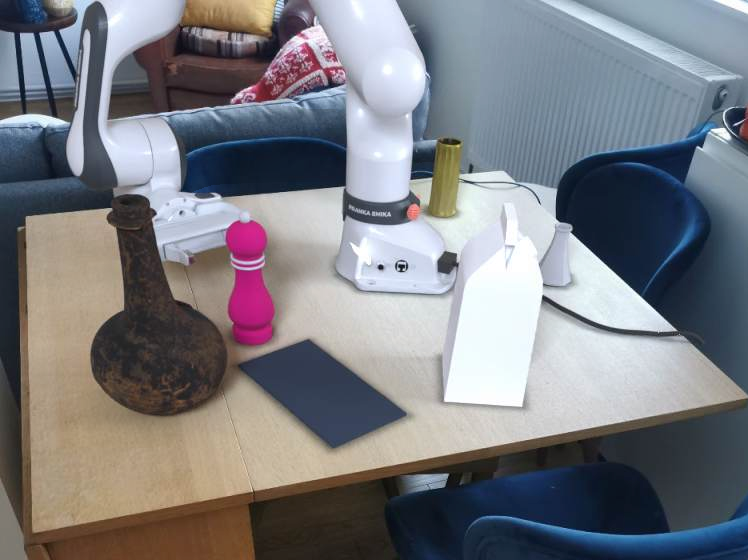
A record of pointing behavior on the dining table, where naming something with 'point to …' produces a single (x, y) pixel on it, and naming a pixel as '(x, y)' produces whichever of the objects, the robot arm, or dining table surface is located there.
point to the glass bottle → (153, 328)
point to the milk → (493, 316)
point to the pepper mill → (249, 282)
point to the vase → (445, 177)
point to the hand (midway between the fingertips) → (216, 252)
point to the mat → (322, 392)
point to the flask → (557, 258)
